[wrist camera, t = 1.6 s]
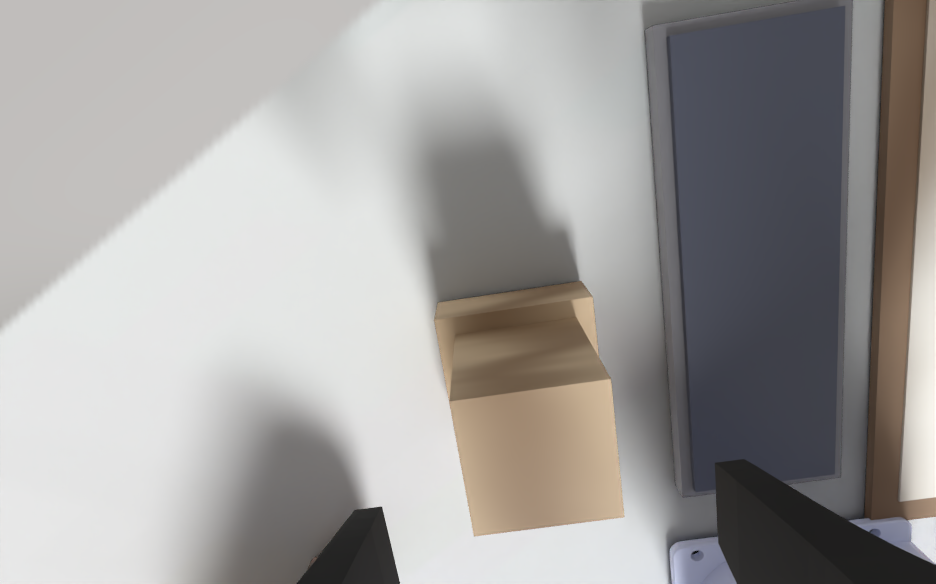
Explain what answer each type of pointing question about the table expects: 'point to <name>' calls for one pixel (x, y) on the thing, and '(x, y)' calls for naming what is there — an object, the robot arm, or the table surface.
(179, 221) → the table surface
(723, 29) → the ink pad
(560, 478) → the stamp
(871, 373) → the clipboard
